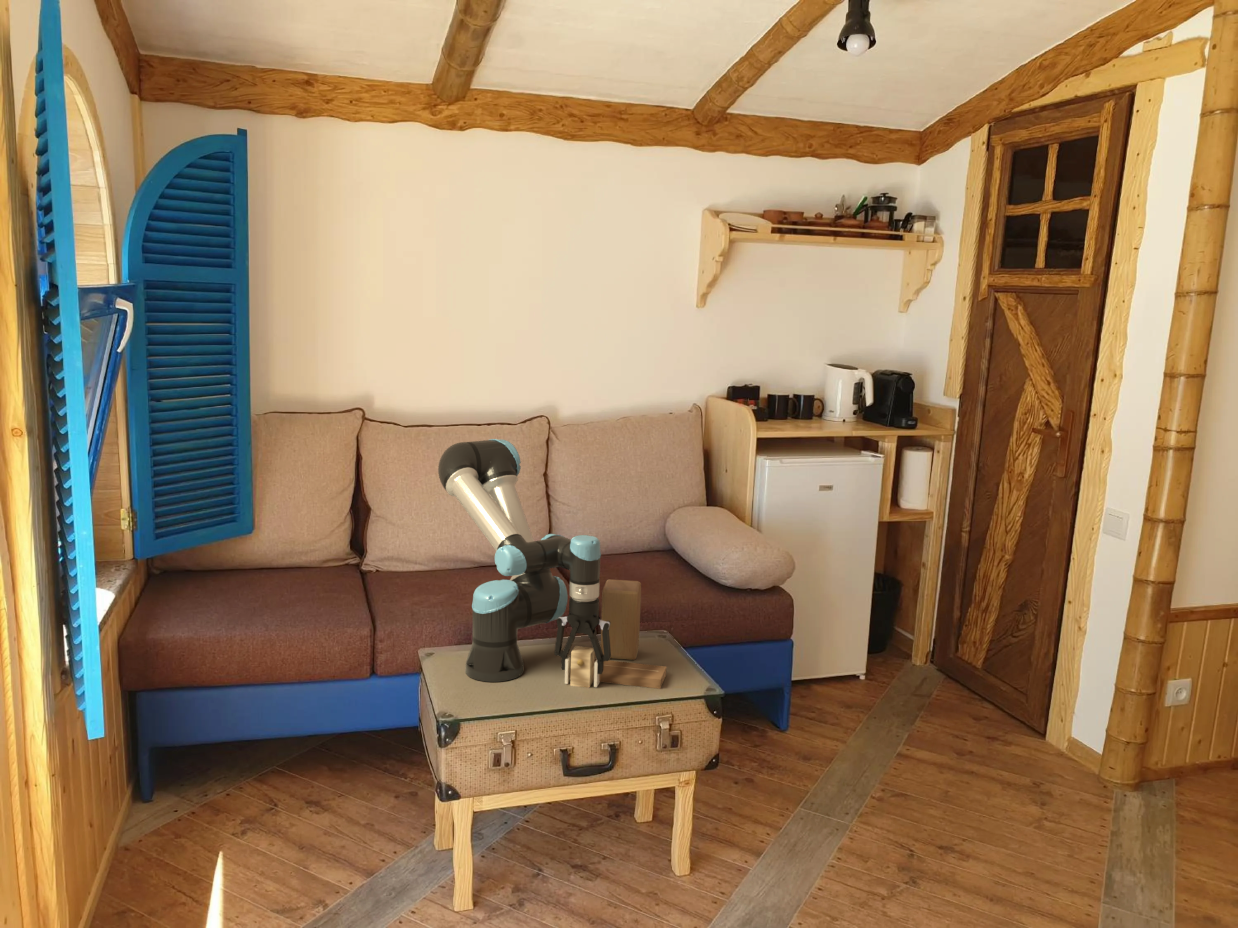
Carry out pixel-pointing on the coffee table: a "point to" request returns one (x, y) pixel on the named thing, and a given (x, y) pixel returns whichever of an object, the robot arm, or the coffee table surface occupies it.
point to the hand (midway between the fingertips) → (581, 683)
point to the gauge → (582, 666)
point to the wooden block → (622, 617)
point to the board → (632, 674)
